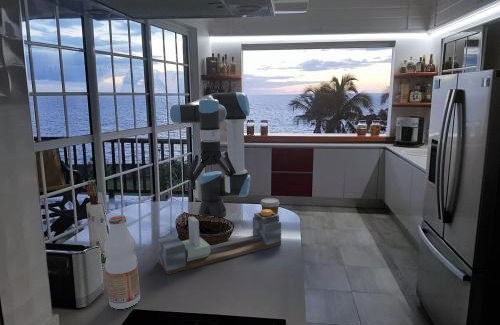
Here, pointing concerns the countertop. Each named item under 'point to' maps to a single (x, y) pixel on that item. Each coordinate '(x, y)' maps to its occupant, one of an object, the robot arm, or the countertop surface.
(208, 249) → the block
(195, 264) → the rail bench
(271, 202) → the disposable coffee cup
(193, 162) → the robot arm
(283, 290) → the countertop surface
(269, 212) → the button
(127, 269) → the fruit juice
